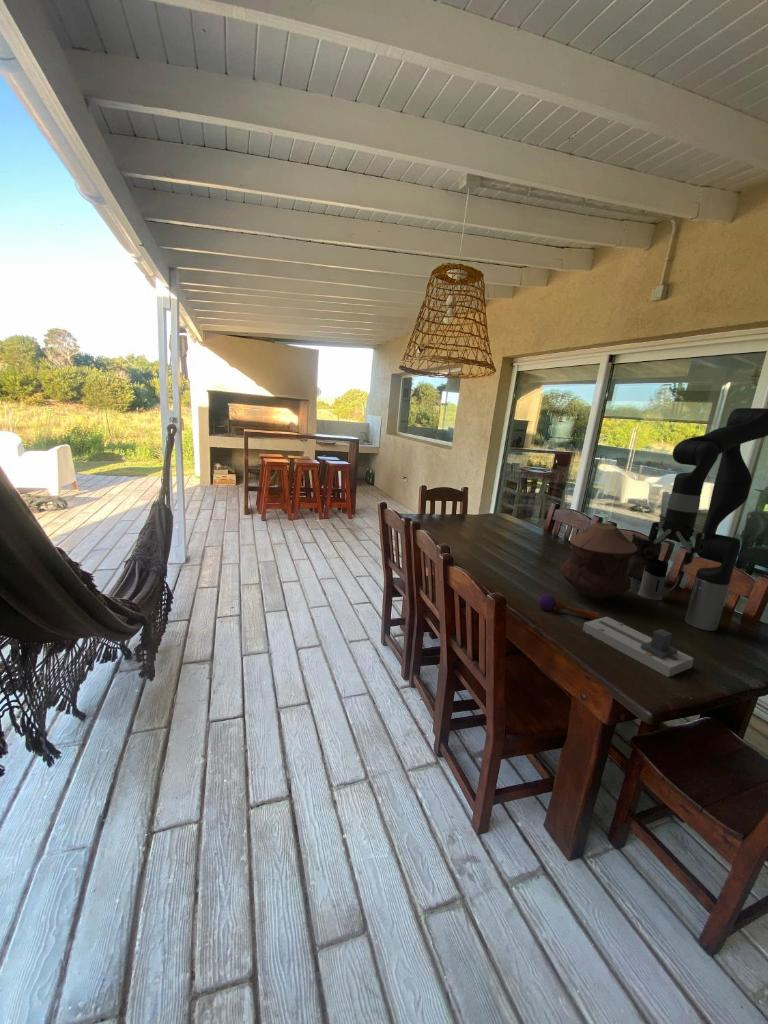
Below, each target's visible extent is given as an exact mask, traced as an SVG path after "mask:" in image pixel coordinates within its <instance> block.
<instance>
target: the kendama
mask: <svg viewBox="0 0 768 1024" xmlns="http://www.w3.org/2000/svg"><path fill="white" fill-rule="evenodd" d="M537 602H538V606H539V607H540V608H541V609H543V610H545V611H551V610H553V609H554V610H555V611H563V610H567V611H569V612H571V613H574V614H576V615H579V616H581V617H584V618H585V619H589V620H590V621H592V620H596V619H599V614H600V613H599V612H597V611H591V610H587V609H586V610H585V609H583V608H576V607H571V606H567V605H566V604H564V603H563V602H562V601H561V600H559V599H557V600H556V598H555V597H554V596H553V595H552V594H549V593H543V594H541V595H540V596H539V598H538V600H537Z"/></svg>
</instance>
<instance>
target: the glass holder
mask: <svg viewBox="0 0 768 1024" xmlns="http://www.w3.org/2000/svg"><path fill="white" fill-rule="evenodd" d="M668 568H669V563H668V562H667V561H664V560H660V559H658V560H657V559H647V561H646V565H645V568H644V572H643V577H642V582H641V581H640V585H639V586H640V587H639V590H638V591H637V594H638V595H639V596H640V595H641V596H640V597H642V596H643V597H642V598H644V597H645V598H644V599H647V598H648V599H647V600H650V599H653V600H652V601H657V600H659V601H662V600H663V594H665V593H668V592H671V591H673V590H674V589H675V588H676V587H677V585H678V583H679V580H680V579H679V578H680V576H679V574H678V572H676V571H672V570H670V571H668ZM671 573H674V574H675V576H676V581H675V583H674V585H673V586H672V587H671V588H669V589H667V590H665V591H664V588H665V584H666V580H668V579H669V577H670V574H671Z"/></svg>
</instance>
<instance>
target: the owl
mask: <svg viewBox="0 0 768 1024" xmlns="http://www.w3.org/2000/svg"><path fill="white" fill-rule="evenodd" d="M630 542H631V543H633V544H634V545H635V546H637V548H638V549H637V551H635V552H633V553H631V555H630V559H629V564H628V568H627V573H628V575H629V576H630V578H631V577H633V578H632V579H634V580H636V579H637V581H639V580H640V581H639V582H641V581H642V577H643V572H644V568H645V565H646V561H647V559H657V560H660V555H658V556H655V555H654V553H653V547H654V542H653V541H651V540H649V539H648V536H641V535H637V534H636V533H632V540H631V541H630Z"/></svg>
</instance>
